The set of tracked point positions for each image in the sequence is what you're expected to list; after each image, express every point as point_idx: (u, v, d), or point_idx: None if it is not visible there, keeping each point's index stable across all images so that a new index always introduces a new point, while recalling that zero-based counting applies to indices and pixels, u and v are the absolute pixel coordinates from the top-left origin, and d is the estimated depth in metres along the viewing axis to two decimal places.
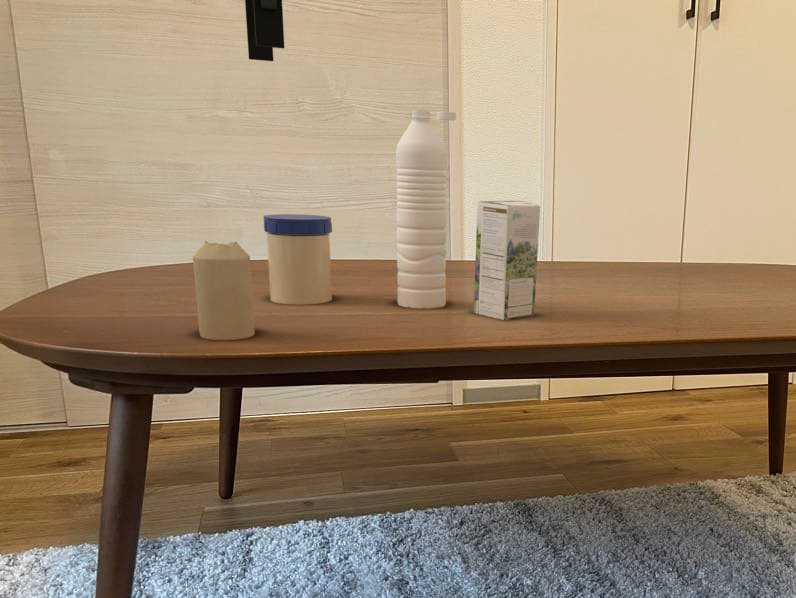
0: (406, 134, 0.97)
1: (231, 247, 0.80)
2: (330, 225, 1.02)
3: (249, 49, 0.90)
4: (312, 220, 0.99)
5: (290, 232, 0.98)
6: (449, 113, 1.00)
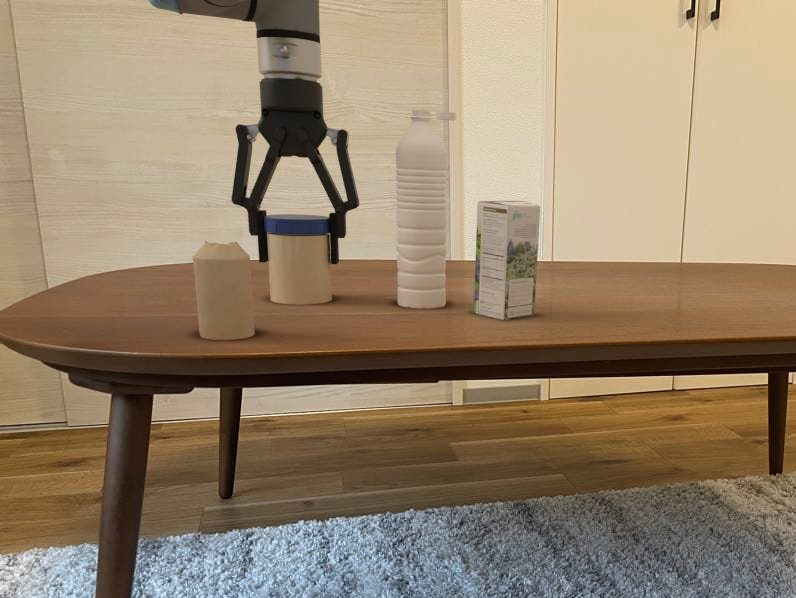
0: (406, 134, 0.97)
1: (230, 247, 0.80)
2: None
3: None
4: (312, 220, 0.99)
5: (290, 232, 0.98)
6: (449, 113, 1.00)
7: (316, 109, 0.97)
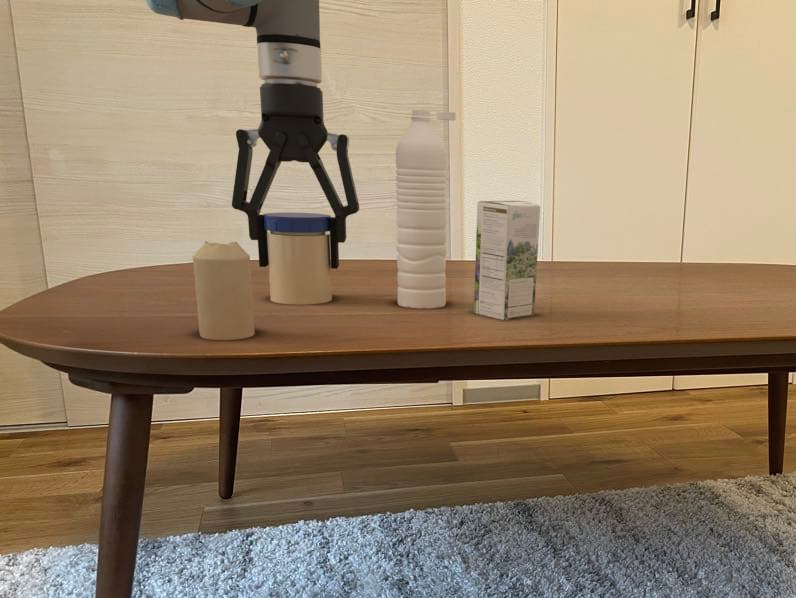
0: (406, 134, 0.97)
1: (230, 247, 0.80)
2: None
3: None
4: None
5: None
6: (449, 113, 1.00)
7: (316, 114, 0.97)
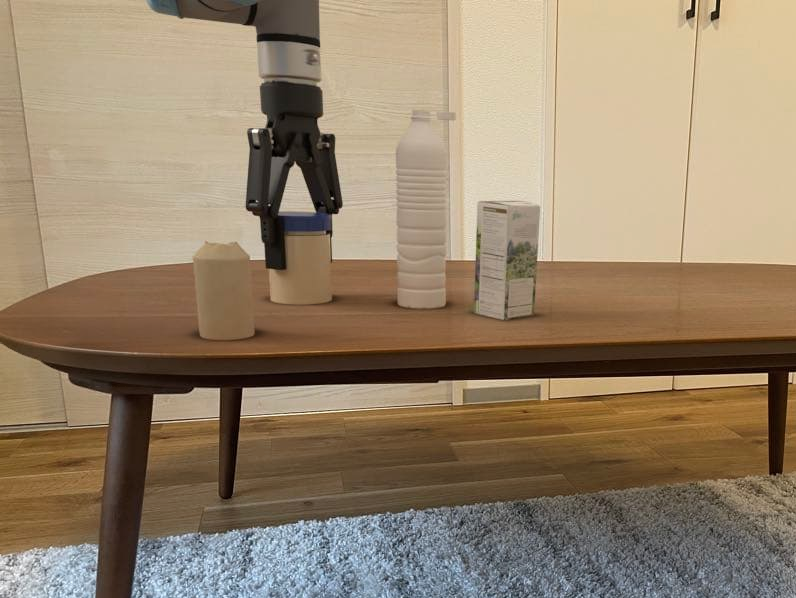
0: (406, 134, 0.97)
1: (230, 247, 0.80)
2: None
3: None
4: None
5: None
6: (449, 113, 1.00)
7: None
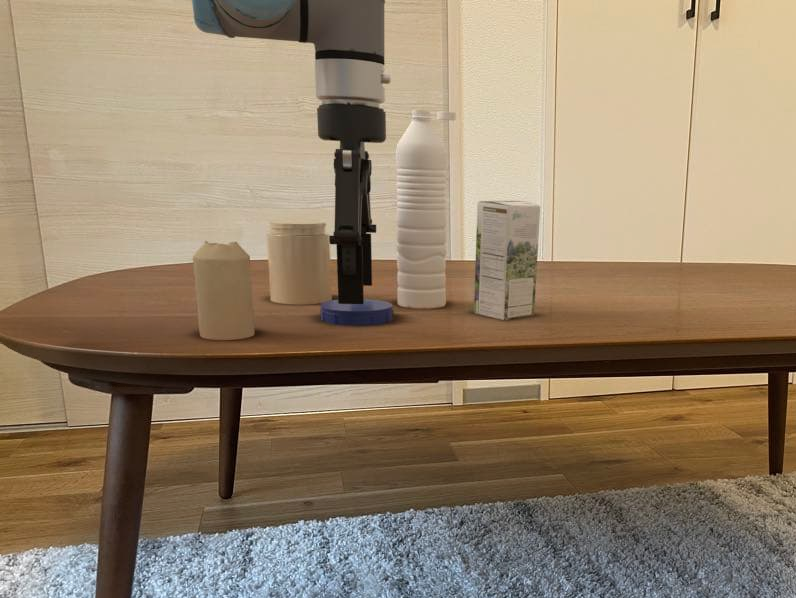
0: (406, 134, 0.97)
1: (230, 247, 0.80)
2: None
3: None
4: None
5: None
6: (449, 113, 1.00)
7: None
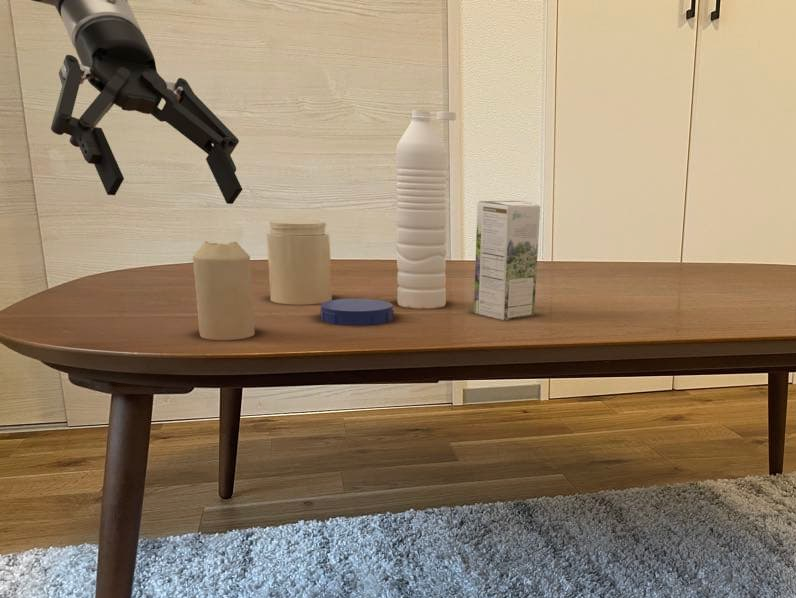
0: (405, 134, 0.97)
1: (230, 247, 0.80)
2: None
3: (224, 196, 0.91)
4: None
5: None
6: (449, 113, 1.00)
7: (154, 59, 0.90)
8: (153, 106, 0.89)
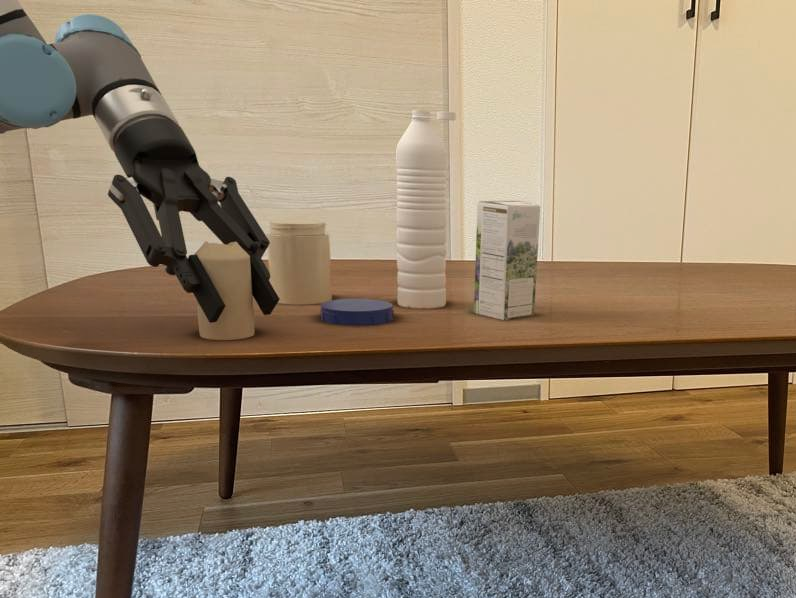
0: (406, 134, 0.97)
1: (231, 247, 0.80)
2: None
3: (260, 307, 0.83)
4: None
5: None
6: (449, 113, 1.00)
7: (195, 153, 0.85)
8: (200, 204, 0.84)
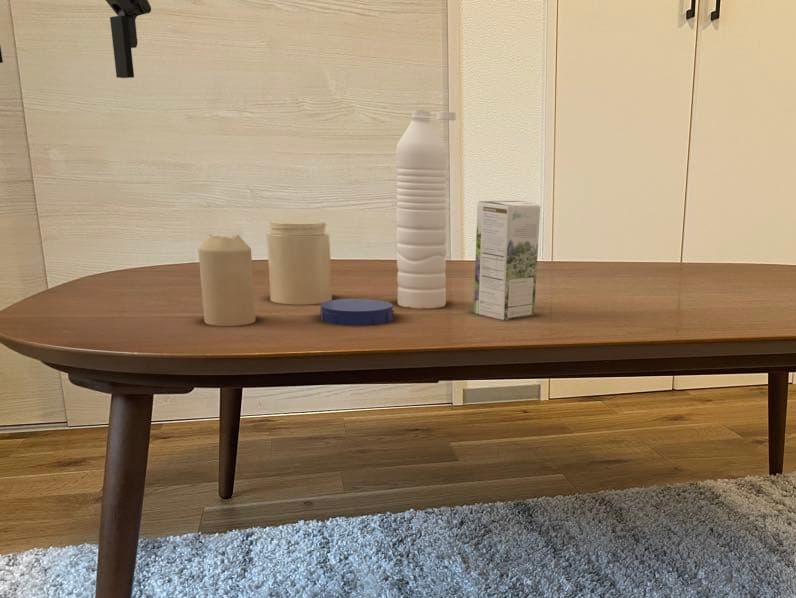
0: (406, 134, 0.97)
1: (233, 240, 0.86)
2: None
3: (116, 68, 0.92)
4: None
5: None
6: (449, 113, 1.00)
7: None
8: None
